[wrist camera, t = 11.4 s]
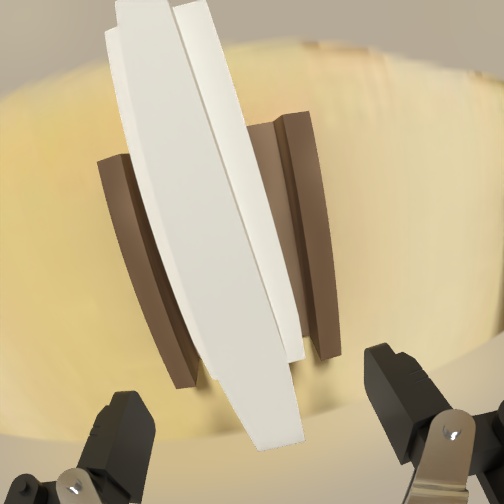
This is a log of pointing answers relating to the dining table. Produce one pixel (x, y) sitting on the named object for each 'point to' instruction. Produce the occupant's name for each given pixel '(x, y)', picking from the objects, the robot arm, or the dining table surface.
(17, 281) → the dining table surface
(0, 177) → the dining table surface
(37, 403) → the dining table surface
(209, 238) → the shelf bracket
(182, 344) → the walnut channel
